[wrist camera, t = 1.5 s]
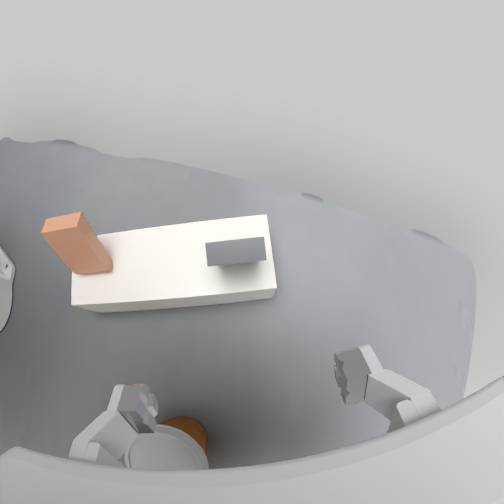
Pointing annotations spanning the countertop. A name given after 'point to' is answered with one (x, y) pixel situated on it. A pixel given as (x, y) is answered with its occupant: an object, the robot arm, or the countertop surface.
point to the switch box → (176, 268)
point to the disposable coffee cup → (170, 447)
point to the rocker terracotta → (77, 244)
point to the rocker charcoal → (235, 251)
